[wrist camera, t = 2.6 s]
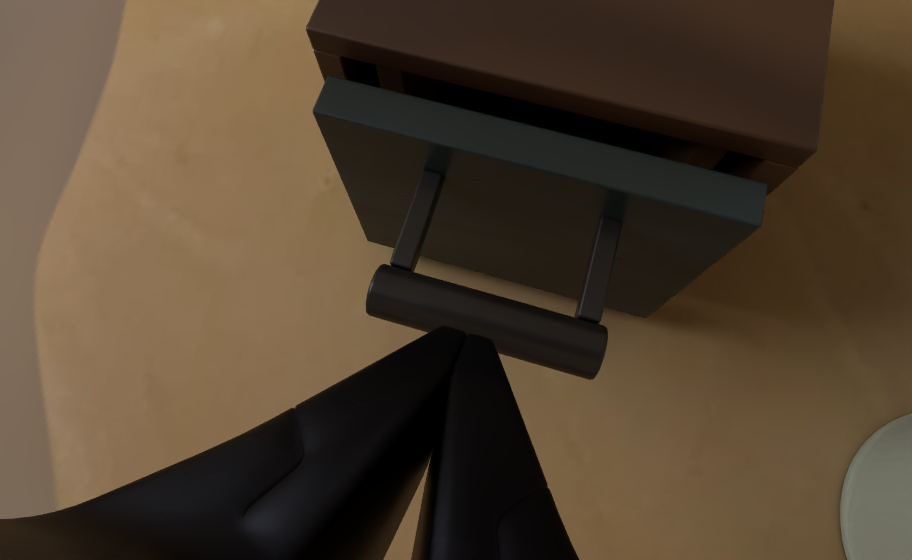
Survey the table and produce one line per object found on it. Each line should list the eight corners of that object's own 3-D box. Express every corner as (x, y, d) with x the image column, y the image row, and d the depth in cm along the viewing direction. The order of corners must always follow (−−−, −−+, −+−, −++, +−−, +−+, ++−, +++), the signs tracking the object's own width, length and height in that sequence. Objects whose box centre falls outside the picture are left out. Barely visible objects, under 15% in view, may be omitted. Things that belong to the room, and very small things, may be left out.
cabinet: (661, 289, 23) (819, 151, 13) (370, 210, 24) (304, 28, 14) (715, 14, 27) (864, -253, 17) (466, -41, 28) (467, -319, 18)
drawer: (624, 429, 20) (737, 405, 12) (329, 341, 21) (243, 262, 13) (701, 43, 25) (817, -163, 17) (461, -11, 27) (460, -228, 18)
